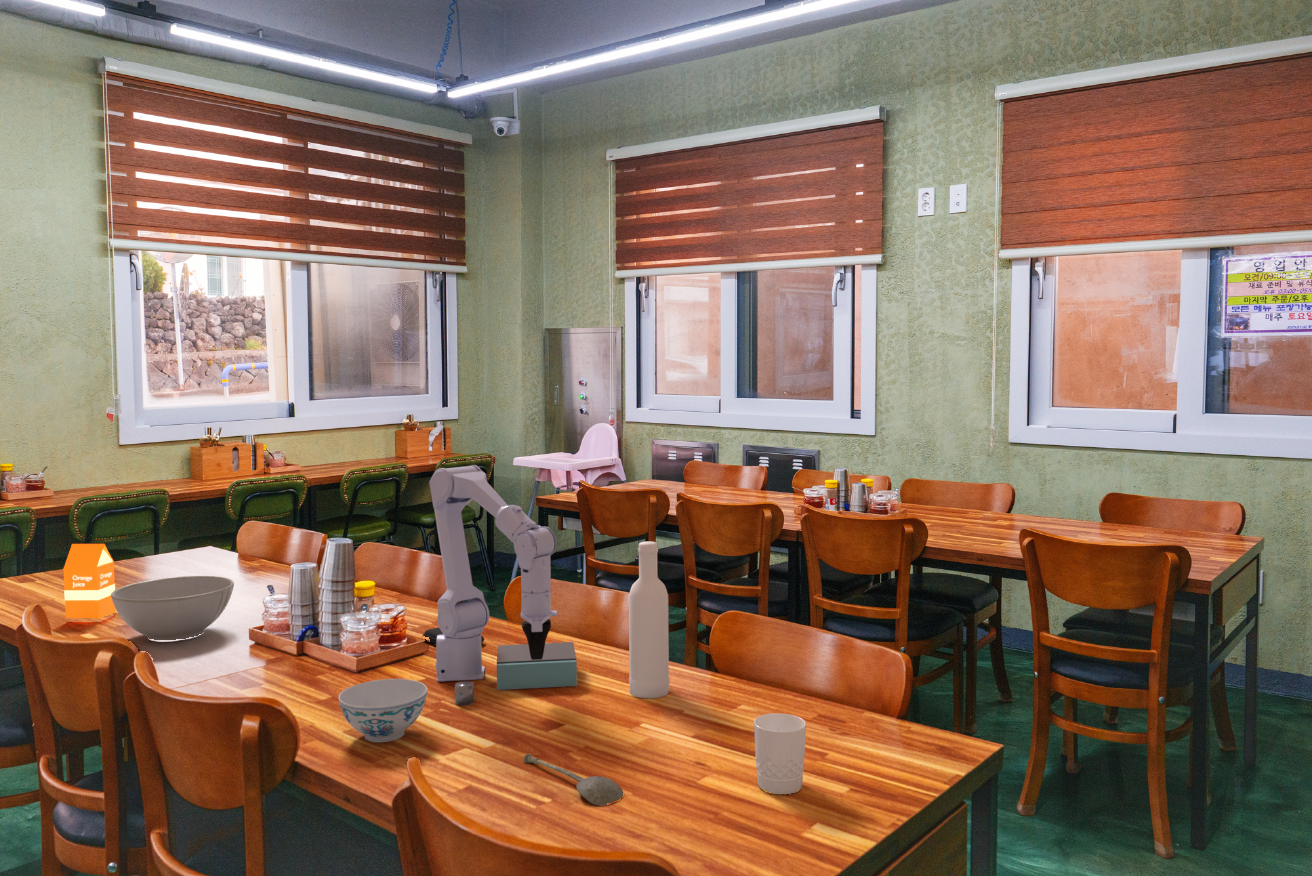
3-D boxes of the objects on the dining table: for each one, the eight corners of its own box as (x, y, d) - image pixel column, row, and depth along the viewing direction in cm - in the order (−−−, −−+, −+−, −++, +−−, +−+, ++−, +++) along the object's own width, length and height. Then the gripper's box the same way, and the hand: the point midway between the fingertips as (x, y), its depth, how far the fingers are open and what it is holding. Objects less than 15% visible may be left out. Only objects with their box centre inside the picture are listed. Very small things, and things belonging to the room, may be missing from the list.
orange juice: (99, 623, 246) (95, 546, 245) (65, 623, 246) (61, 546, 245) (116, 615, 254) (113, 541, 253) (83, 615, 254) (80, 541, 253)
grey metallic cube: (454, 706, 182) (454, 688, 182) (456, 699, 186) (455, 682, 186) (473, 704, 183) (473, 687, 183) (474, 698, 186) (474, 681, 186)
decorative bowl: (258, 631, 238) (256, 583, 237) (152, 658, 215) (150, 605, 214) (195, 617, 252) (193, 571, 251) (90, 641, 229) (88, 591, 229)
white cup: (749, 776, 149) (749, 714, 149) (799, 774, 150) (799, 712, 149) (759, 798, 142) (759, 732, 141) (811, 796, 142) (811, 730, 142)
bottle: (677, 691, 189) (676, 542, 188) (650, 702, 184) (649, 547, 182) (648, 683, 195) (647, 537, 193) (620, 692, 189) (619, 543, 187)
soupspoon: (598, 818, 138) (632, 806, 143) (599, 795, 138) (633, 784, 142) (510, 768, 154) (543, 758, 158) (511, 747, 154) (544, 738, 158)
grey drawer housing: (497, 688, 192) (496, 662, 192) (498, 670, 204) (498, 645, 204) (576, 684, 194) (576, 658, 194) (573, 667, 206) (573, 642, 206)
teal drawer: (497, 690, 191) (496, 665, 190) (498, 671, 202) (497, 648, 202) (577, 685, 193) (576, 661, 193) (573, 668, 205) (573, 645, 204)
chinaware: (444, 725, 172) (443, 683, 172) (396, 756, 158) (395, 711, 158) (374, 716, 177) (373, 675, 177) (321, 745, 163) (319, 701, 163)
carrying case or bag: (415, 642, 227) (448, 655, 217) (415, 630, 227) (447, 642, 216) (454, 634, 235) (487, 646, 224) (454, 622, 234) (487, 633, 224)
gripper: (558, 598, 179) (558, 668, 180) (555, 581, 194) (556, 647, 195) (520, 599, 178) (521, 670, 179) (520, 582, 193) (521, 648, 194)
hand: (536, 658), depth 187 cm, fingers closed
